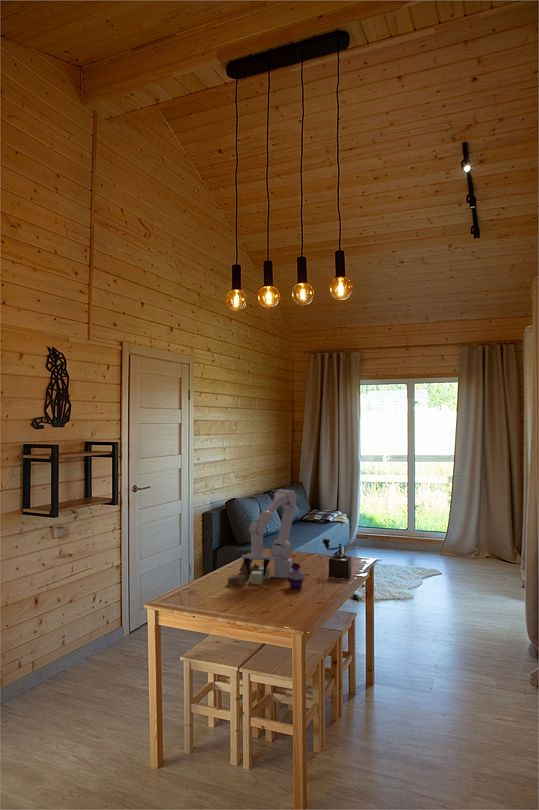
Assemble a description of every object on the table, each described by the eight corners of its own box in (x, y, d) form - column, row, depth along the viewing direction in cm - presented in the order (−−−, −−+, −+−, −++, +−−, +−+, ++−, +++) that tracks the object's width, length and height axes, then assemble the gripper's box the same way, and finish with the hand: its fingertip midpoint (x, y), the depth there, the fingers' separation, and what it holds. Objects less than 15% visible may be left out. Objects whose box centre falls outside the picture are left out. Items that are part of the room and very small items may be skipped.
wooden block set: (249, 584, 271) (257, 565, 271) (234, 576, 273) (242, 558, 272) (256, 573, 289) (264, 556, 288) (242, 566, 291) (249, 549, 290)
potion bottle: (286, 585, 261) (286, 560, 262) (304, 585, 261) (304, 560, 262) (287, 590, 252) (287, 564, 253) (305, 590, 252) (305, 564, 253)
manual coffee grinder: (352, 574, 282) (352, 539, 283) (348, 579, 272) (348, 543, 273) (323, 571, 287) (323, 537, 288) (318, 576, 277) (318, 541, 278)
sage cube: (262, 581, 268) (262, 571, 268) (260, 584, 263) (261, 574, 263) (252, 581, 269) (252, 570, 269) (250, 583, 264) (250, 573, 264)
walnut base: (245, 583, 265) (245, 575, 265) (241, 587, 258) (242, 578, 258) (231, 582, 266) (231, 574, 267) (227, 586, 259) (227, 578, 260)
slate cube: (269, 577, 276) (269, 567, 277) (267, 579, 271) (267, 569, 272) (259, 576, 277) (259, 566, 277) (258, 579, 272) (258, 569, 272)
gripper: (241, 547, 264) (240, 575, 263) (270, 549, 262) (270, 577, 261) (243, 544, 271) (243, 572, 270) (272, 546, 269) (272, 573, 268)
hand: (256, 574), depth 266 cm, fingers open, 7 cm apart
